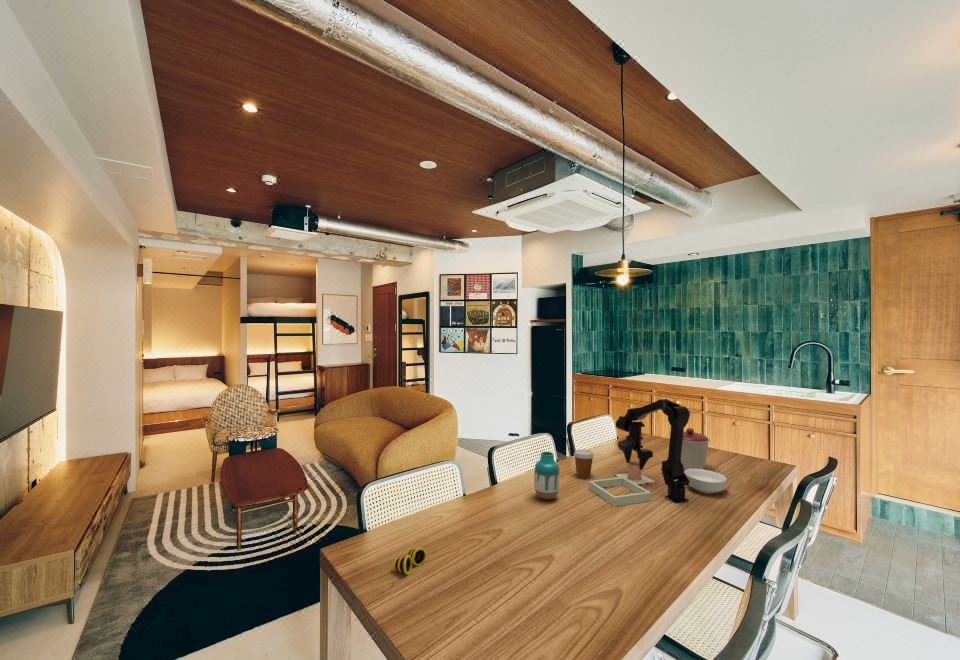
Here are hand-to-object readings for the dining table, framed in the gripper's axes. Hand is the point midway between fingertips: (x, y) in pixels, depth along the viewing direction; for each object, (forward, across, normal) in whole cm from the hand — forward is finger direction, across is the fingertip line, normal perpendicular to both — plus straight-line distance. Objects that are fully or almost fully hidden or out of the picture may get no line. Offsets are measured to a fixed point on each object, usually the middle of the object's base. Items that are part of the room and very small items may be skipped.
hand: (634, 466), depth 193 cm
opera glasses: (+6, +39, -114) cm, 120 cm away
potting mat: (+6, 0, 0) cm, 6 cm away
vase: (+6, +7, -51) cm, 52 cm away
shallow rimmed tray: (+6, +13, -19) cm, 24 cm away
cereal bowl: (+6, +20, +22) cm, 31 cm away
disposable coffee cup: (+6, -10, -22) cm, 25 cm away
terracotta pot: (+6, 0, 0) cm, 6 cm away
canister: (+6, -4, +38) cm, 39 cm away
